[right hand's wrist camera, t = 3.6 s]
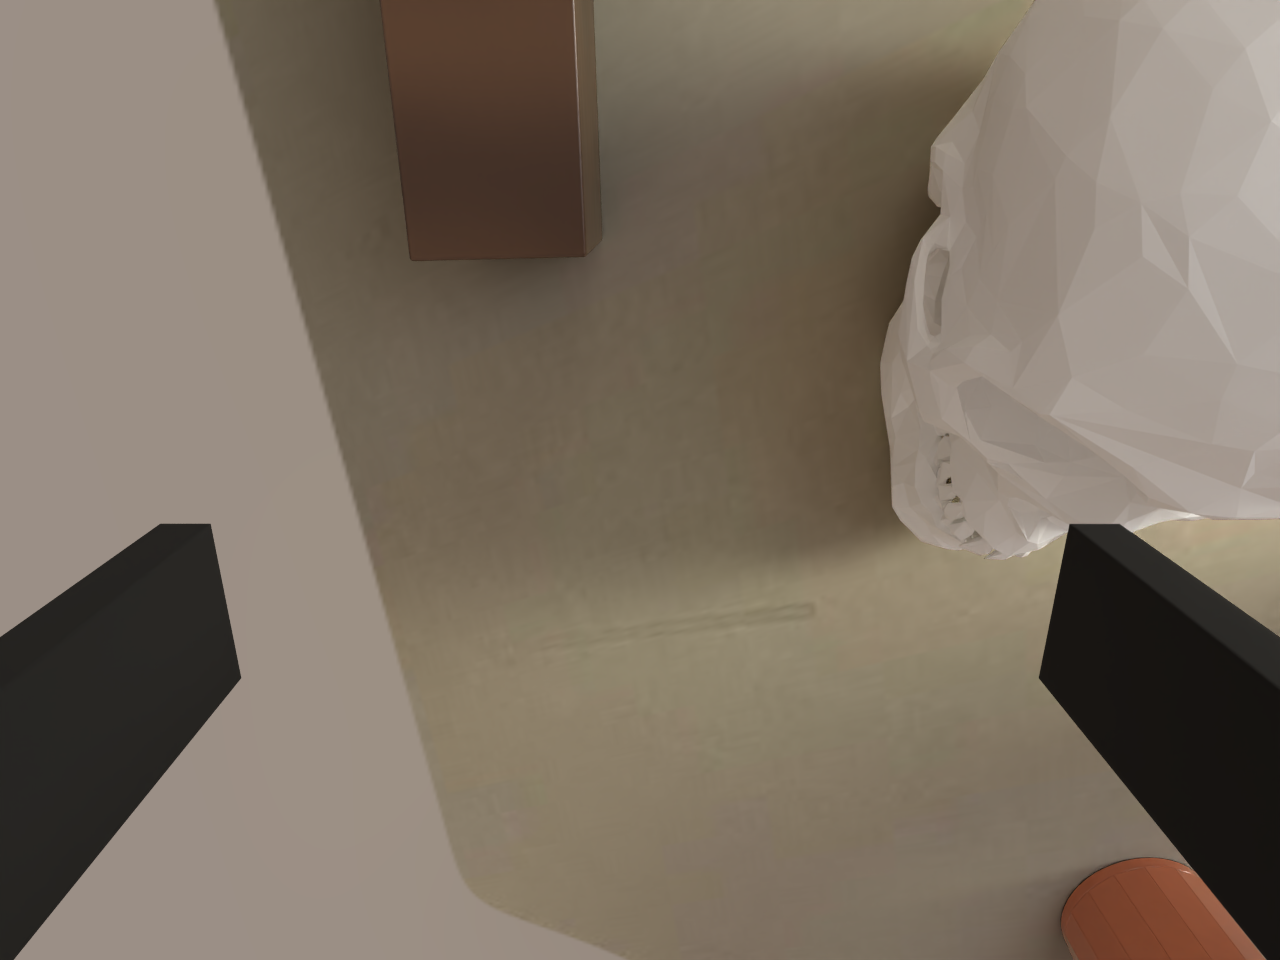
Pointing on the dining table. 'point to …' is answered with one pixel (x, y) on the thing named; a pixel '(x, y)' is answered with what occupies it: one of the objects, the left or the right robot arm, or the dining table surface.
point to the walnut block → (495, 126)
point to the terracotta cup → (1151, 916)
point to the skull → (1097, 283)
